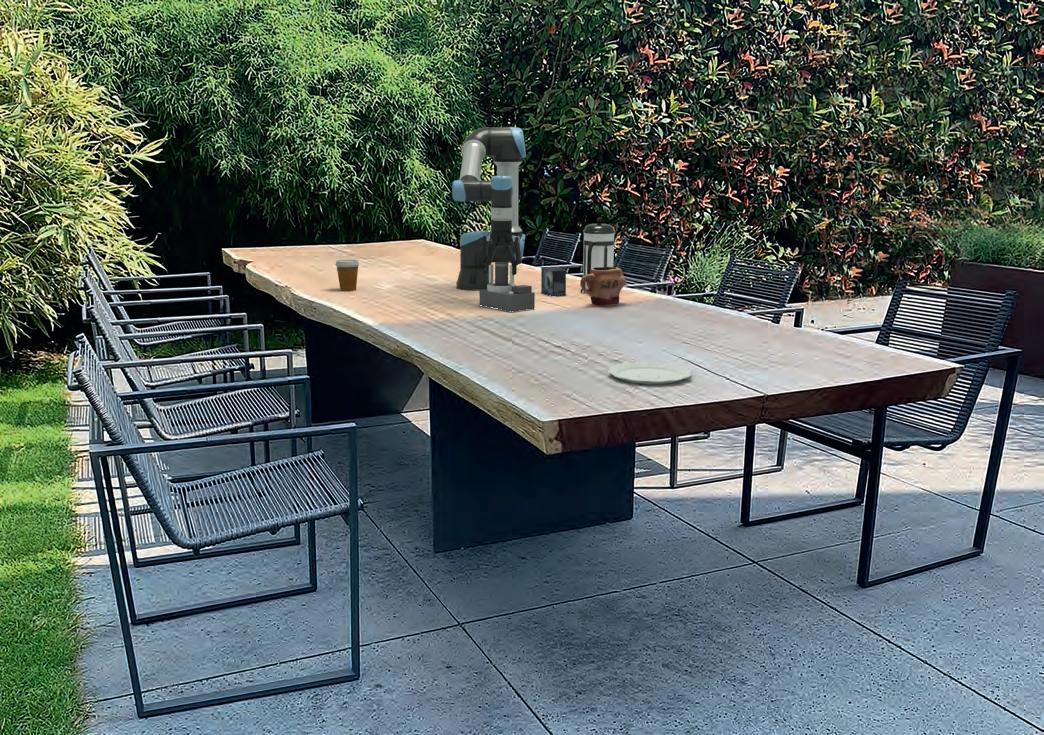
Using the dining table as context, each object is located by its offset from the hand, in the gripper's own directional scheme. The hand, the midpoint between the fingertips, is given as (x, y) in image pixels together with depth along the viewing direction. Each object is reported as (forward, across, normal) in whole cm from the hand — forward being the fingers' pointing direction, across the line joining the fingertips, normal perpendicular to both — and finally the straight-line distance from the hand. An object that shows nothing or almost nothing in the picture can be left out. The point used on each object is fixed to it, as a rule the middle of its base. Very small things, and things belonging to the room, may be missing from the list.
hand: (501, 283), depth 342 cm
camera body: (+9, +3, -2) cm, 9 cm away
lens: (+3, 0, 0) cm, 3 cm away
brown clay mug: (+9, +34, +16) cm, 38 cm away
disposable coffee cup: (+9, -72, +17) cm, 75 cm away
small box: (+9, +9, +35) cm, 38 cm away
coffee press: (+9, +25, +46) cm, 53 cm away
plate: (+9, +72, -90) cm, 116 cm away
